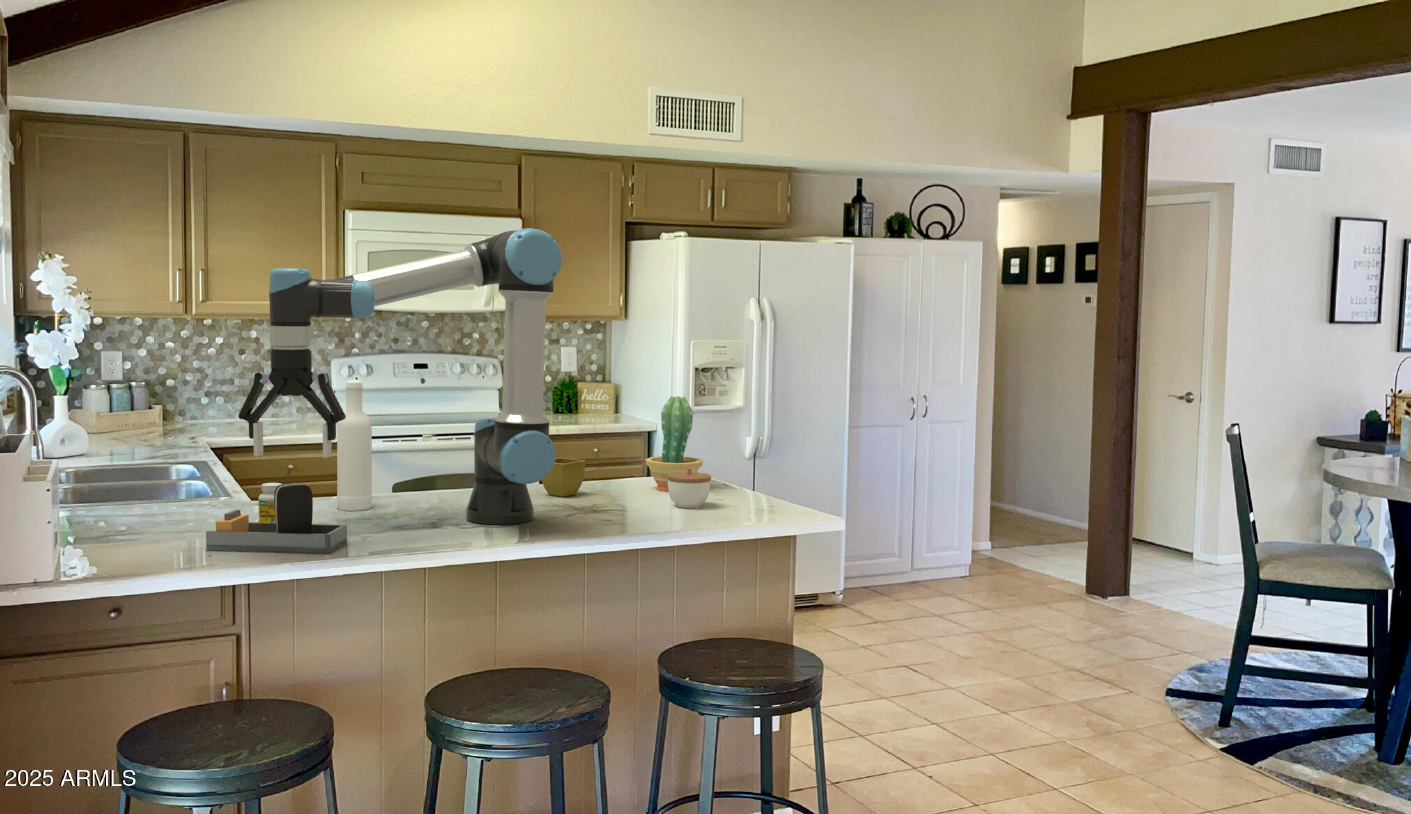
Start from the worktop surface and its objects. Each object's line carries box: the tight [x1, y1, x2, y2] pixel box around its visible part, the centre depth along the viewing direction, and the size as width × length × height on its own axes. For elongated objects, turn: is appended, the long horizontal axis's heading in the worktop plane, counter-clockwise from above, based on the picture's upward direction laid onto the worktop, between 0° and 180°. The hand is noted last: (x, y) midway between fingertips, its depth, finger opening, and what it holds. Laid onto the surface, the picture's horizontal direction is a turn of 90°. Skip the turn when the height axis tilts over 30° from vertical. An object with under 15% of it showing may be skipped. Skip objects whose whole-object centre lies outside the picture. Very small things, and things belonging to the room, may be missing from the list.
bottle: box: [336, 379, 373, 512], centre depth 268 cm, size 8×8×30 cm
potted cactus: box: [645, 395, 704, 493], centre depth 306 cm, size 15×15×25 cm
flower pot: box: [540, 457, 586, 498], centre depth 293 cm, size 9×9×9 cm
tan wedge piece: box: [215, 509, 250, 532], centre depth 226 cm, size 3×8×5 cm, turn 179°
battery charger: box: [274, 482, 314, 534], centre depth 226 cm, size 7×4×11 cm, turn 124°
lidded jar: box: [667, 468, 712, 509], centre depth 282 cm, size 11×11×9 cm
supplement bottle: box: [258, 482, 283, 523], centre depth 243 cm, size 5×5×10 cm
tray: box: [205, 521, 348, 555], centre depth 226 cm, size 24×10×4 cm, turn 89°
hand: (293, 456), depth 225 cm, fingers open, 13 cm apart
